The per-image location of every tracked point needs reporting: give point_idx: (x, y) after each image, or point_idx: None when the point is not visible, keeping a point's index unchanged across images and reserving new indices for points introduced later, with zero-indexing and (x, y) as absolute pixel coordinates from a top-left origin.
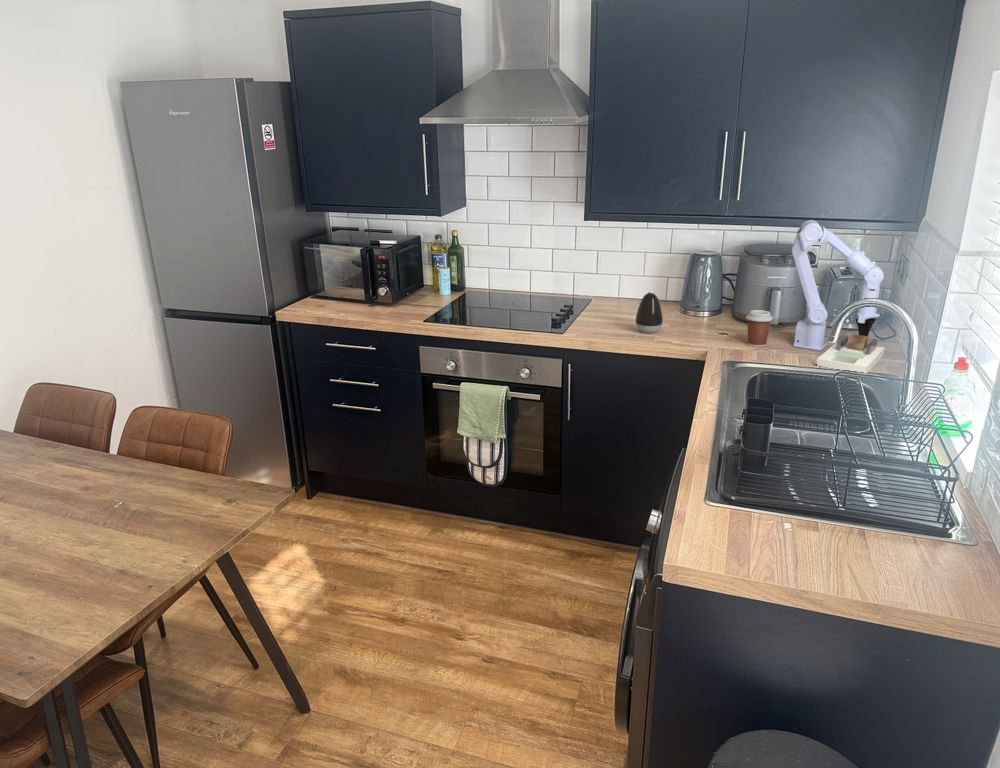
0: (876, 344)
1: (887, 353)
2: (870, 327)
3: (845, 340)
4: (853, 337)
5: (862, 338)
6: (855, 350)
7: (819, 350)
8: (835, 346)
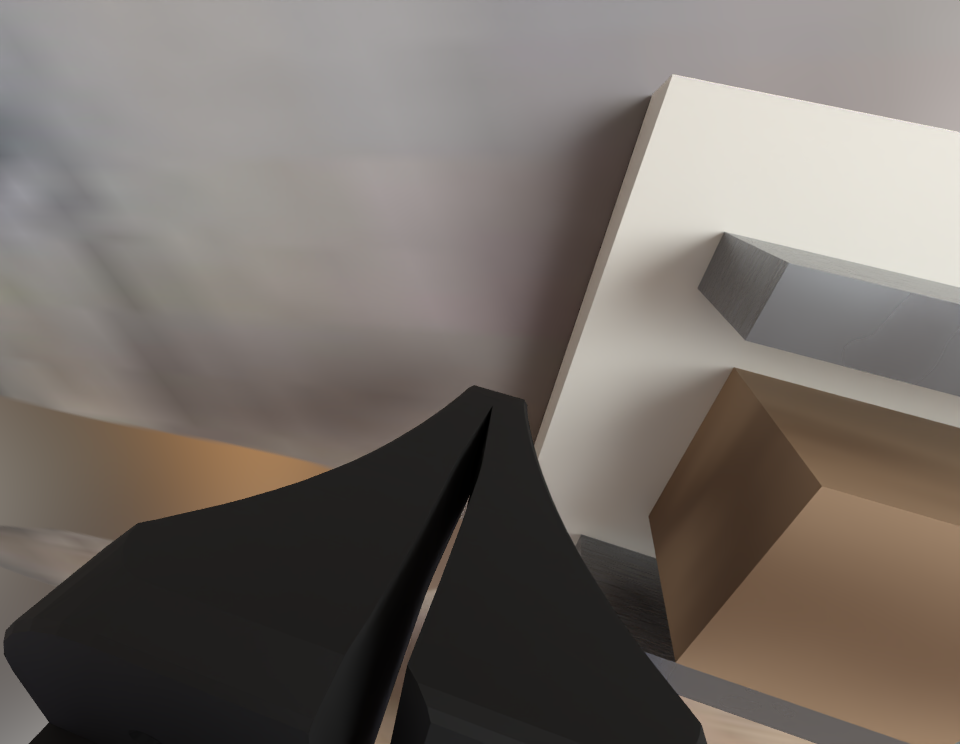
0: (771, 248)
1: (565, 37)
2: (479, 519)
3: None
4: (951, 710)
5: None
6: None
7: None
8: None
